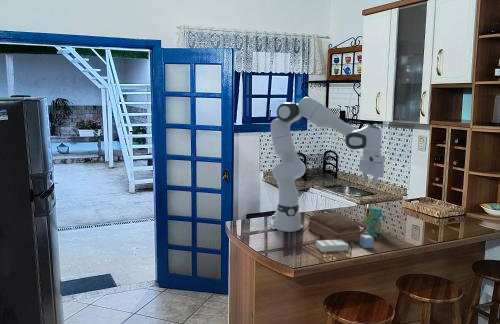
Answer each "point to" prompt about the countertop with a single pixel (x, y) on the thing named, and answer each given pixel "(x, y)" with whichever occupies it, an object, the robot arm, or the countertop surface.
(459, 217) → the countertop surface
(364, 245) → the light blue cube
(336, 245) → the white flat box
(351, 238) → the bread
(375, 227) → the toy
